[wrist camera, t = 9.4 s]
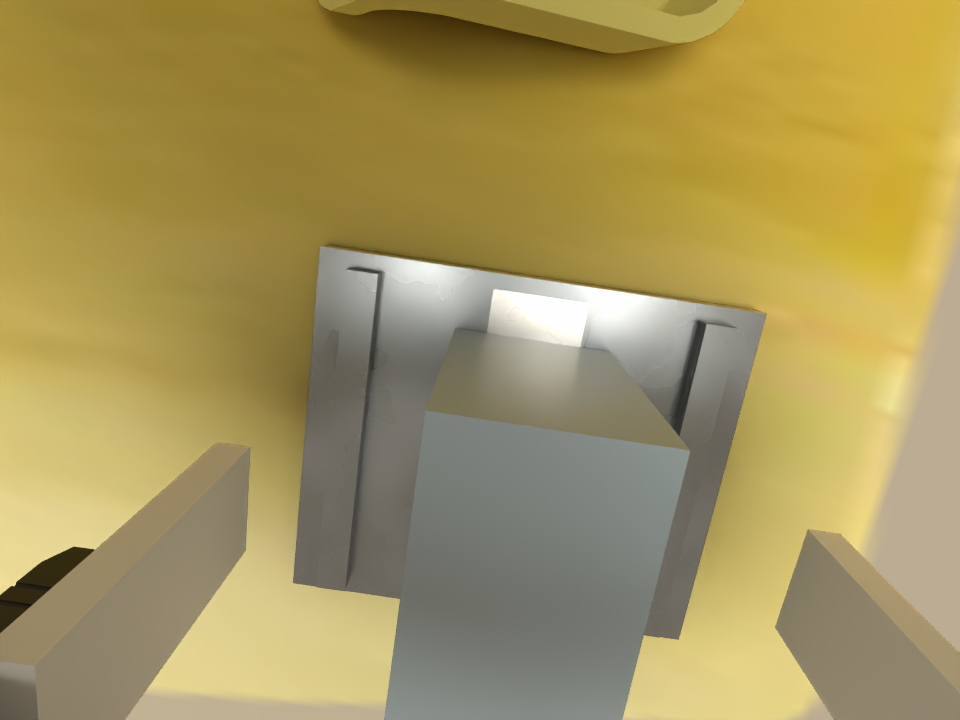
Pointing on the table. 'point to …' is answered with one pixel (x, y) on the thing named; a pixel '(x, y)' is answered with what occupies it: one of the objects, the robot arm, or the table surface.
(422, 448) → the block
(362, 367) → the rail mount
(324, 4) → the plastic component
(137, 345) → the table surface
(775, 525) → the table surface
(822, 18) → the table surface
